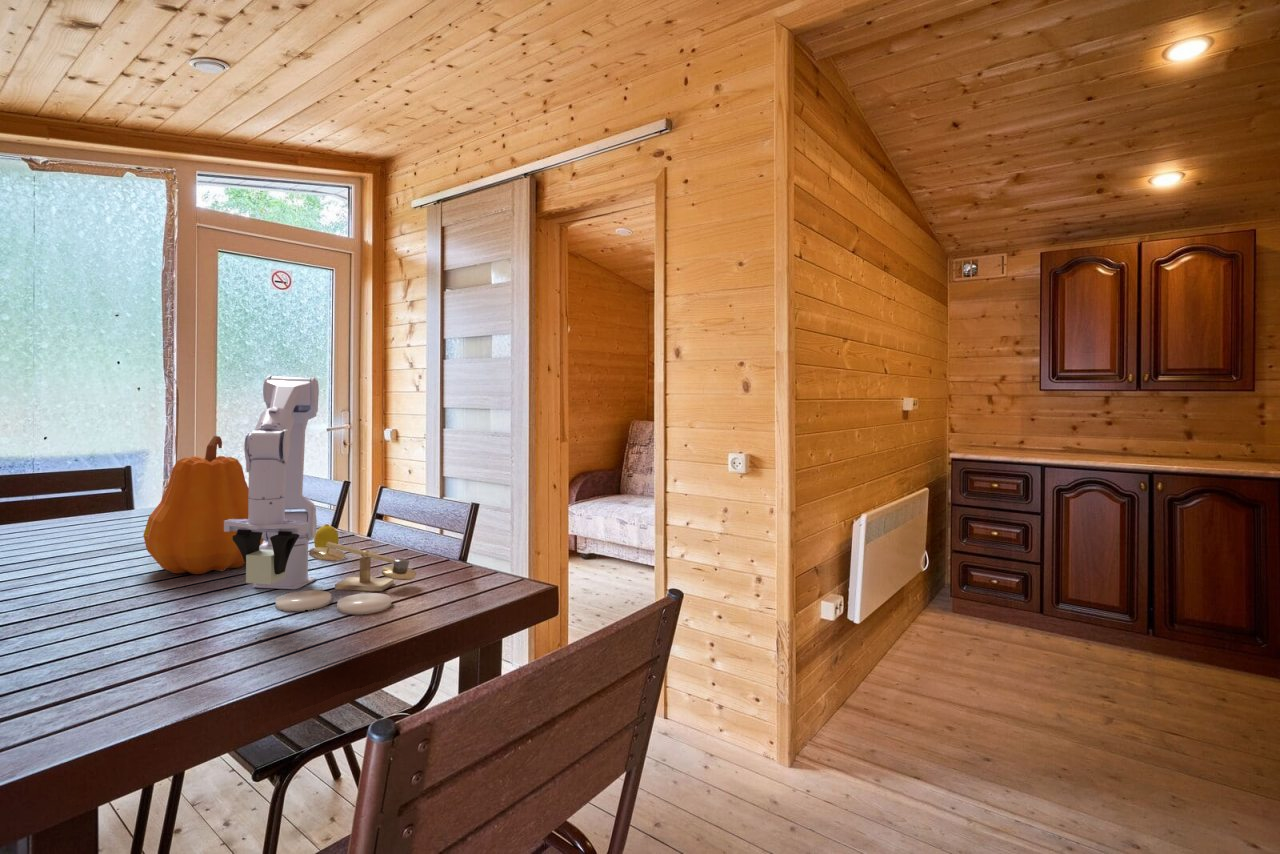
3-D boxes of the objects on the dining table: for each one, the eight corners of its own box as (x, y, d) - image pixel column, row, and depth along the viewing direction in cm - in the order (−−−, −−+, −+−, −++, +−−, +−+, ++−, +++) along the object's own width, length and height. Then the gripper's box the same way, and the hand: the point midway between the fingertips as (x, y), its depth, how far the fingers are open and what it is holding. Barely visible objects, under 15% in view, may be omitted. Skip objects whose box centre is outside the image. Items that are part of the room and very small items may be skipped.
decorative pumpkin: (168, 556, 160) (168, 432, 159) (277, 553, 166) (278, 434, 165) (122, 583, 137) (122, 439, 136) (250, 578, 144) (251, 441, 143)
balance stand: (334, 589, 138) (335, 559, 138) (348, 581, 144) (349, 553, 144) (381, 591, 138) (382, 561, 138) (393, 583, 144) (394, 555, 144)
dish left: (264, 610, 124) (264, 603, 124) (293, 595, 133) (293, 589, 133) (314, 612, 123) (315, 606, 123) (340, 597, 133) (340, 591, 133)
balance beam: (302, 555, 138) (305, 541, 138) (319, 547, 145) (322, 534, 145) (408, 582, 137) (411, 568, 137) (420, 573, 144) (423, 560, 144)
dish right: (327, 613, 123) (327, 606, 123) (352, 597, 133) (352, 592, 133) (378, 615, 123) (378, 609, 123) (399, 600, 133) (399, 594, 133)
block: (245, 583, 117) (246, 555, 117) (261, 576, 122) (261, 549, 121) (270, 584, 117) (271, 556, 117) (285, 577, 121) (285, 550, 121)
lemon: (328, 559, 163) (329, 526, 162) (309, 557, 164) (309, 525, 164) (343, 554, 168) (343, 522, 168) (323, 552, 169) (324, 521, 169)
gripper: (212, 498, 115) (211, 576, 116) (293, 502, 114) (292, 580, 115) (238, 493, 122) (237, 566, 123) (315, 496, 121) (314, 569, 122)
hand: (266, 572), depth 119 cm, fingers closed on block, 4 cm apart
